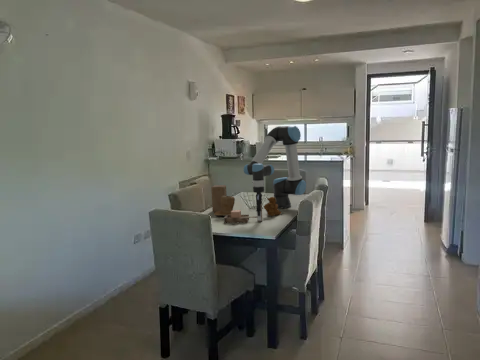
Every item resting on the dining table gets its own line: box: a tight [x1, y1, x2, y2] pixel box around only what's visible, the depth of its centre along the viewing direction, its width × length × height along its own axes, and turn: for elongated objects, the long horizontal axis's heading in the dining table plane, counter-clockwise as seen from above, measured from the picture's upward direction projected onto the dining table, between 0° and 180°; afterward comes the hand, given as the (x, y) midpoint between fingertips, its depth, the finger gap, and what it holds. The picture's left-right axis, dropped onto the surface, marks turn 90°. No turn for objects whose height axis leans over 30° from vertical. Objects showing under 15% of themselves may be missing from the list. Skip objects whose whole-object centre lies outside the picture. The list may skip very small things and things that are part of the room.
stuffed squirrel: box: [263, 196, 282, 217], centre depth 292 cm, size 10×14×13 cm
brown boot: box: [213, 195, 236, 217], centre depth 298 cm, size 15×12×15 cm
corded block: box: [231, 203, 263, 223], centre depth 278 cm, size 21×6×11 cm, turn 82°
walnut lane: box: [223, 214, 250, 224], centre depth 279 cm, size 16×10×4 cm, turn 82°
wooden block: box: [210, 184, 228, 213], centre depth 315 cm, size 10×10×20 cm
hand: (259, 219), depth 277 cm, fingers closed on corded block, 5 cm apart
